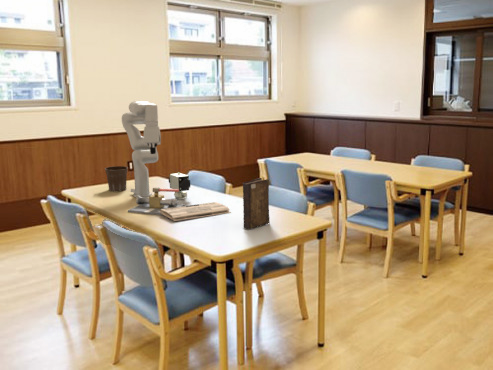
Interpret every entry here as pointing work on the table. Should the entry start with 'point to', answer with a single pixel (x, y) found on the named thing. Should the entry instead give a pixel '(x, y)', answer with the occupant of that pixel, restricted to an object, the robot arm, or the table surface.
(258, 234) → the table surface
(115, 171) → the plant pot
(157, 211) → the board
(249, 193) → the book
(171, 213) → the newspaper
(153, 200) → the valve body
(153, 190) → the lever
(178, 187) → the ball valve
